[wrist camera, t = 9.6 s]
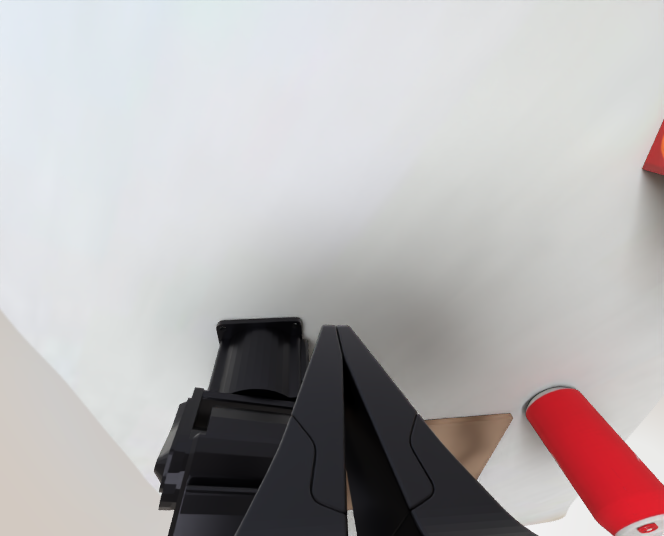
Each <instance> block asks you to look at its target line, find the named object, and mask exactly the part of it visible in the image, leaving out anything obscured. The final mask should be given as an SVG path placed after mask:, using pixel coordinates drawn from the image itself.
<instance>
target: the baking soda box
mask: <svg viewBox="0 0 664 536" xmlns="http://www.w3.org/2000/svg"><path fill="white" fill-rule="evenodd" d="M642 169H644V170H647V171H651V172H654V173H658V174H661V175H664V120H663V123H662V125H661V127H660V129H659V132H658V134H657V136H656V138H655V141H654V143H653V145H652V147H651V150H650V152H649V154H648V156H647V159H646V161H645V163H644V165H643V168H642Z"/></svg>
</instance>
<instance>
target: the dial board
mask: <svg viewBox="0 0 664 536" xmlns="http://www.w3.org/2000/svg"><path fill="white" fill-rule="evenodd" d="M512 419H513V417H512V415H511V414H510V413H508V414H496V415H484V416H472V417H460V418H448V419H436V420H424V421H425V423H426V424H427V425H428V426H429V428H430V429H431V430H432V431H433V432H434V434H435V435H436V436H437V437H438V438H439V440H440V441H441V442H442V443H443V444H444V445H445V447H446V448H447V449H448V450H449V451H450V452H451V453H452V454H453V455H454V457H455V458H456V459H457V460H458V461H459V462H460V463H461V464H462V465H463V466H464V467H465V468H466V469H467V470H468V472H469V473H470V474H471V475H472V476H473V477H474V478H475V479H476V480H477V479H478V477H479V475H480V473H481V472H482V470H483V468H484V467H485V465H486V463H487V462H488V460H489V458H490V457H491V455H492V453H493V452H494V450H495V448H496V446H497V445H498V443H499V441H500V440H501V438H502V436H503V435H504V433H505V431H506V430H507V428H508V426H509V425H510V423H511V421H512ZM346 484H347V510H353V507H352V501H351V495H350V489H349V483H348V477H347V472H346Z"/></svg>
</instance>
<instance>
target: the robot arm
mask: <svg viewBox="0 0 664 536" xmlns="http://www.w3.org/2000/svg"><path fill="white" fill-rule="evenodd" d="M294 323H297V324H296V325H294ZM222 327H226V328H222ZM216 330H217V335H218V339H219V343H220V346H219V350H218V354H217V358H216V361H215V365H214V369H213V373H212V376H211V380H210V384H209V388H208V391H207V390H204V388H196V387H195V390H194V393H193V396H192V398H188V400H187V402H185V403H182V404H180V405H179V408H178V411H177V414H176V417H175V420H174V423H173V426H172V428H171V431H170V433H169V435H168V437H167V440H166V442H165V444H164V446H163V448H162V450H161V452H160V454H159V457H158V459H157V462H156V465H155V468H154V472H155V474H156V476H157V477H158V479H159V481H160V483H161V485H160V489H159V492H161V493H162V495H161V500H160V504H159V510H174V514H173V518H172V522H171V526H170V529H169V534H168V536H348V521H347V484H346V472H347V477H348V483H349V489H350V495H351V501H352V507H353V513H354V519H355V525H356V531H357V536H538V535H536V534H535V533H533V532H531V531H530V530H529V529H527V528H526V527H524V526H523V525H522V524H520V523H519V522H518V521H517V520H515V519H514V518H513V517H512V516H511V515H510V514H509V513H508V512H507V511H506V510H505V509H504V508H503V507H502V506H501V505H500V504H499V503H498V502H497V501H496V500H495V499H494V498H493V497H492V496H491V495H490V494H489V493H488V492H487V491H486V490H485V489H484V487H483V486H482V485H481V484H480V483H479V482H478V481H477V480H476V479H475V478H474V477H473V476H472V475H471V474H470V473H469V472H468V470H467V469H466V468H465V467H464V466H463V465H462V464H461V463H460V462H459V461H458V460H457V459H456V458H455V457H454V455H453V454H452V453H451V452H450V451H449V450H448V449H447V448H446V447H445V445H444V444H443V443H442V442H441V441H440V440H439V438H438V437H437V436H436V435H435V434H434V432H433V431H432V430H431V429H430V428H429V426H428V425H427V424H426V423H425V421H424V420H423V419H422V417H421V416H420V415H419V414H417V411H416V410H415V409H414V407H413V406H412V405H411V404H410V402H409V401H408V400H407V399H406V397H405V396H404V395H403V393H402V392H401V391H400V390H399V388H398V387H397V386H396V385H395V383H394V382H393V381H392V379H391V378H390V377H389V376H388V374H387V373H386V372H385V371H384V369H383V368H382V367H381V365H380V364H379V363H378V362H377V360H376V359H375V358H374V357H373V355H372V354H371V353H370V351H369V350H368V349H367V348H366V346H365V345H364V344H363V343H362V341H361V340H360V339H359V337H358V336H357V335H356V334H355V332H354V331H353V330H352V328H351V327H350V326H347V325H337V326H335V325H323V326H322V328H321V331H320V334H319V336H318V339H317V342H316V345H315V348H314V351H313V353H312V356H311V359H310V362H309V356H308V341H307V340H305V339H302V327H301V320H300V319H299V318H295V317H294V318H271V319H249V320H226V321H220V322H218V324H217V327H216Z"/></svg>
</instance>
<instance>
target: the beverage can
mask: <svg viewBox="0 0 664 536" xmlns="http://www.w3.org/2000/svg"><path fill="white" fill-rule="evenodd" d="M526 417H527V419H528V421H529V422H530V424H531V425H532V426H533V428H534V429H535V431H536V432H537V434H538V435H539V437H540V438H541V440H542V441H543V443H544V444H545V446H546V447H547V449H548V450H549V452H550V453H551V455H552V456H553V458H554V459H555V461H556V462H557V464H558V465H559V467H560V468H561V469H562V471H563V472H564V474H565V475H566V477H567V478H568V480H569V481H570V483H571V484H572V486H573V487H574V489H575V490H576V492H577V493H578V495H579V496H580V498H581V499H582V501H583V502H584V504H585V505H586V506H587V508H588V510H589V511H590V513H591V514H592V515H593V517H594V518H595V520H596V521H597V522H598V523H599V524H600V525H601V526H602V527H604V528H605V529H606V530H607V531H609V532H610V533H611V534H612V535H613V536H661V535H664V486H663V484H662V483H661V482H660V481H659V480H658V479H657V478H656V477H655V475H654V474H653V473H652V472H651V471H650V470H649V469H648V468H647V466H645V464H644V463H643V462H642V461H641V460H640V459H639V458H638V456H637V455H636V454H635V453H634V452H633V451H632V450H631V449H630V447H628V445H627V444H626V443H625V442H624V441H623V440H622V439H621V437H620V436H619V435H618V434H617V433H616V432H615V431H614V430H613V428H612V427H611V426H610V425H609V424H608V423H607V422H606V421H605V420H604V418H603V417H602V416H601V415H600V414H599V413H598V412H597V411H596V409H595V408H594V407H593V406H592V405H591V404H590V403H589V402H588V401H587V399H586V398H585V397H584V396H583V395H582V394H581V393H580V392H579V391H578V390H576V389H572V388H564V387H556V388H551V389H548V390H545V391H543V392H541V393H539V394H538V395H536V396H535V397H534V398H533V399H532V400H531V401H530V403H529V405H528V407H527V410H526Z"/></svg>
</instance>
